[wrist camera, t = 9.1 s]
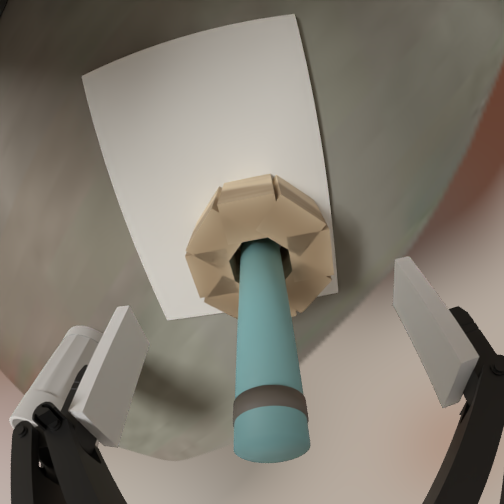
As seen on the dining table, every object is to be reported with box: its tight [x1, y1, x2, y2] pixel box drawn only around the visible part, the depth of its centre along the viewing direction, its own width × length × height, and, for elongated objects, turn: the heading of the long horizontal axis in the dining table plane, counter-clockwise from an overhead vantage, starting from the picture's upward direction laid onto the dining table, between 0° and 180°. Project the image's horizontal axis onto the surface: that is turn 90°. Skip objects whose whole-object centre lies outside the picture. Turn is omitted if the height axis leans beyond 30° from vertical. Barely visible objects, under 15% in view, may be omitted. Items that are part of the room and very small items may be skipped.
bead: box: [185, 174, 334, 319], centre depth 20 cm, size 8×8×4 cm
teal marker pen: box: [233, 237, 310, 463], centre depth 15 cm, size 2×2×15 cm
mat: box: [81, 14, 338, 320], centre depth 20 cm, size 20×14×1 cm
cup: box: [9, 326, 103, 447], centre depth 23 cm, size 8×8×12 cm
